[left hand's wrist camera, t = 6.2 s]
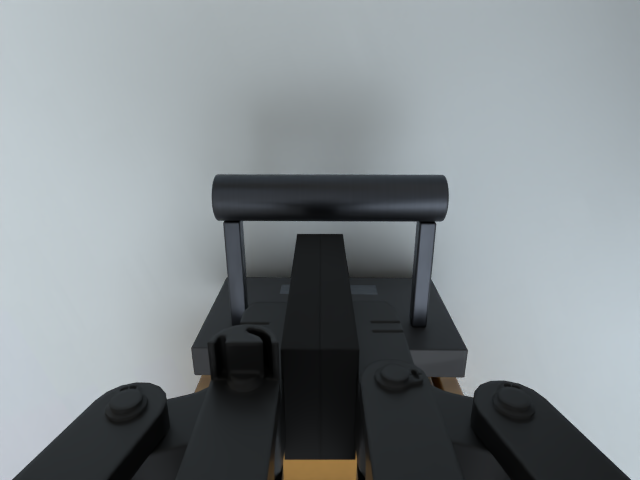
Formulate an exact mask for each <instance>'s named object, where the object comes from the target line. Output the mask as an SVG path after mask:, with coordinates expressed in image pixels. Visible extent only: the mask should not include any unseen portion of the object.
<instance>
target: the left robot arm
mask: <svg viewBox="0 0 640 480" xmlns="http://www.w3.org/2000/svg"><path fill="white" fill-rule="evenodd" d="M207 346H208V356H209V365H210V375H211V381H210V384H209V387H207V388H205V389H203V390H201V391H199V392H196V393H192V394H189V395H185V396H180V397H176V398H171V399H167V398H166V393H165V392H164V391H163V390H162V389H161V387H159V386H157V385H154V384H151V383H132V384H127V385H122V386H119V387H117V388H115V389H113V390H110V391H108V392H106V393H105V394H104V395H102V396H101V397H99V398H98V399H97V400H95V401H94V402H93V403H92V404H91V405H90V406H89V407H88V408H87V409H86V410H85V411H84V412H83V413H82V414H81V415H80V416H79V417H77V418H76V419H75V420H74V421H73V422H72V423H71V424H70V425H69V426H68V427H67V428H66V429H65V430H64V431H63V432H62V433H61V434H60V435H59V436H58V437H56V438H55V439H54V440H53V441H52V442H51V443H50V444H49V445H48V446H47V447H46V448H45V449H44V450H43V451H42V452H41V453H40V454H39V455H38V456H37V457H35V458H34V459H33V460H32V461H31V462H30V463H29V464H28V465H27V466H26V467H25V468H24V469H23V470H22V471H21V472H20V473H19V474H18V475H17V476H16V477H15V478H13V479H12V480H284V473H283V459H284V460H356V457H357V473H356V480H631V479H630V478H629V477H628V476H627V475H625V474H624V473H623V472H622V471H621V470H620V469H619V468H618V467H617V466H616V465H615V464H614V463H613V462H612V461H611V460H610V459H609V458H607V457H606V456H605V455H604V454H603V453H602V452H601V451H600V450H599V449H598V448H597V447H596V446H595V445H594V444H593V443H592V442H591V441H590V440H588V439H587V438H586V437H585V436H584V435H583V434H582V433H581V432H580V431H579V430H578V429H577V428H576V427H575V426H574V425H573V424H572V423H570V422H569V421H568V420H567V419H566V418H565V417H564V416H563V415H562V414H561V413H560V412H559V411H558V410H557V409H556V408H555V407H554V406H553V405H551V404H550V403H549V402H548V401H547V400H546V399H545V398H544V397H542V396H541V395H540V394H538V393H537V392H535V391H534V390H532V389H530V388H528V387H525V386H523V385H521V384H518V383H513V382H508V381H489V382H487V383H484V384H481V385H480V386H479V387H478V388H477V389H476V390H475V392H474V398H472V397H468V396H463V395H459V394H454V393H451V392H447V391H444V390H441V389H439V388H437V387H435V386H433V385H431V383H430V380H429V378H428V377H427V375H426V374H425V372H424V371H423V370H421V369H420V368H419V367H417V366H416V365H414V362H413V359H412V356H411V353H410V350H409V347H408V344H407V341H406V338H405V335H404V333H403V329H402V326H401V323H400V320H399V316H398V313H397V310H396V309H395V308H394V307H392V306H391V305H390V304H389V303H388V302H387V301H386V300H352V295H351V288H350V281H349V274H348V267H347V260H346V253H345V247H344V240H343V234H297V240H296V247H295V253H294V260H293V267H292V274H291V281H290V288H289V295H288V301H287V302H254V303H253V304H251V305H250V306H249V307H248V308H247V309H246V310H245V311H244V312H243V315H242V318H241V321H240V325H235V326H231V327H228V328H225V329H222V330H221V331H219V332H217V333H216V334H214V335H213V336H212V337H211V338H210V340H209V341H208V342H207Z"/></svg>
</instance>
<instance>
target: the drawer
mask: <svg viewBox="0 0 640 480" xmlns="http://www.w3.org/2000/svg"><path fill="white" fill-rule="evenodd" d="M448 201H449V191H448V183H447V180H446V177H445V176H444V175H216V176H215V178H214V181H213V186H212V207H213V212H214V215H215V218H216V219H217V220H218V221H224V223H223V225H224V237H225V249H226V261H227V274H228V277H227V278H226V280H225V282H224V284H223V286H222V288H221V290H220V292H219V294H218V296H217V298H216V300H215V302H214V304H213V306H212V308H211V310H210V312H209V314H208V316H207V318H206V320H205V322H204V324H203V326H202V328H201V330H200V332H199V334H198V336H197V338H196V340H195V342H194V344H193V346H192V348H191V350H192V358H193V366H194V374H195V375H210V365H209V356H208V346H207V342H208V341H209V340H210V338H211V337H212V336H213V335H214V334H216V333H217V332H219V331H221V330H222V329H225V328H228V327H231V326H235V325H240V321H241V318H242V315H243V312H244V311H245V310H246V309H247V308H248V307H249V306H250V305H251V304H253V303H254V302H287V301H288V295H289V288H290V281H291V278H279V277H246V265H245V249H244V234H243V221H417V225H416V238H415V250H414V263H413V276H412V278H349V281H350V288H351V295H352V300H386V301H387V302H388V303H389V304H390V305H391V306H392V307H394V308H395V309H396V310H397V313H398V316H399V320H400V323H401V326H402V329H403V333H404V335H405V338H406V341H407V344H408V347H409V350H410V353H411V356H412V359H413V362H414V365H416V366H417V367H419V368H420V369H421V370H423V371H424V372H425V374H426V375H427V377H428V378H429V380H430V383H431V385H433V383H432V380H431V377H464V375H465V368H466V360H467V353H468V350H467V348H466V346H465V344H464V342H463V340H462V338H461V336H460V334H459V332H458V330H457V328H456V326H455V325H454V323H453V321H452V319H451V317H450V315H449V313H448V311H447V309H446V307H445V305H444V303H443V301H442V299H441V297H440V295H439V294H438V292H437V290H436V288H435V286H434V284H433V282H432V280H431V274H432V263H433V253H434V242H435V232H436V223H435V221H436V222H441V221H443V220H444V219H445V217H446V214H447V209H448Z"/></svg>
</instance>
